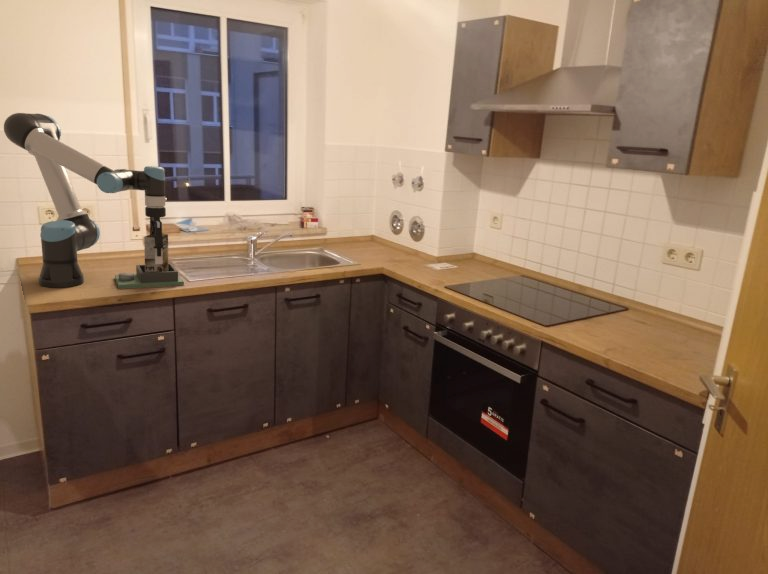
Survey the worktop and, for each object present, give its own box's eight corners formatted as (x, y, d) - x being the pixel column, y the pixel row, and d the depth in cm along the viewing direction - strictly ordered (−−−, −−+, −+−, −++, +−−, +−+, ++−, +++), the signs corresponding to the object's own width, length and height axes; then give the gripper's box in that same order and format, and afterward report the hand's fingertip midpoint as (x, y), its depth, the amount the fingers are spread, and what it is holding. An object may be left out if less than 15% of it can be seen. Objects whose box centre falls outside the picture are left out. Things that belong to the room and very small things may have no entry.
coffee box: (160, 277, 229) (159, 237, 225) (144, 276, 229) (143, 236, 225) (169, 272, 238) (168, 233, 233) (153, 270, 238) (153, 232, 233)
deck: (119, 288, 220) (118, 274, 218) (115, 278, 233) (114, 265, 232) (183, 285, 232) (183, 272, 230) (176, 275, 245) (176, 263, 244)
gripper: (170, 210, 218) (171, 267, 224) (160, 202, 238) (161, 254, 243) (149, 210, 215) (150, 267, 220) (141, 202, 234) (142, 255, 239)
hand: (156, 260), depth 232 cm, fingers closed on coffee box, 10 cm apart
